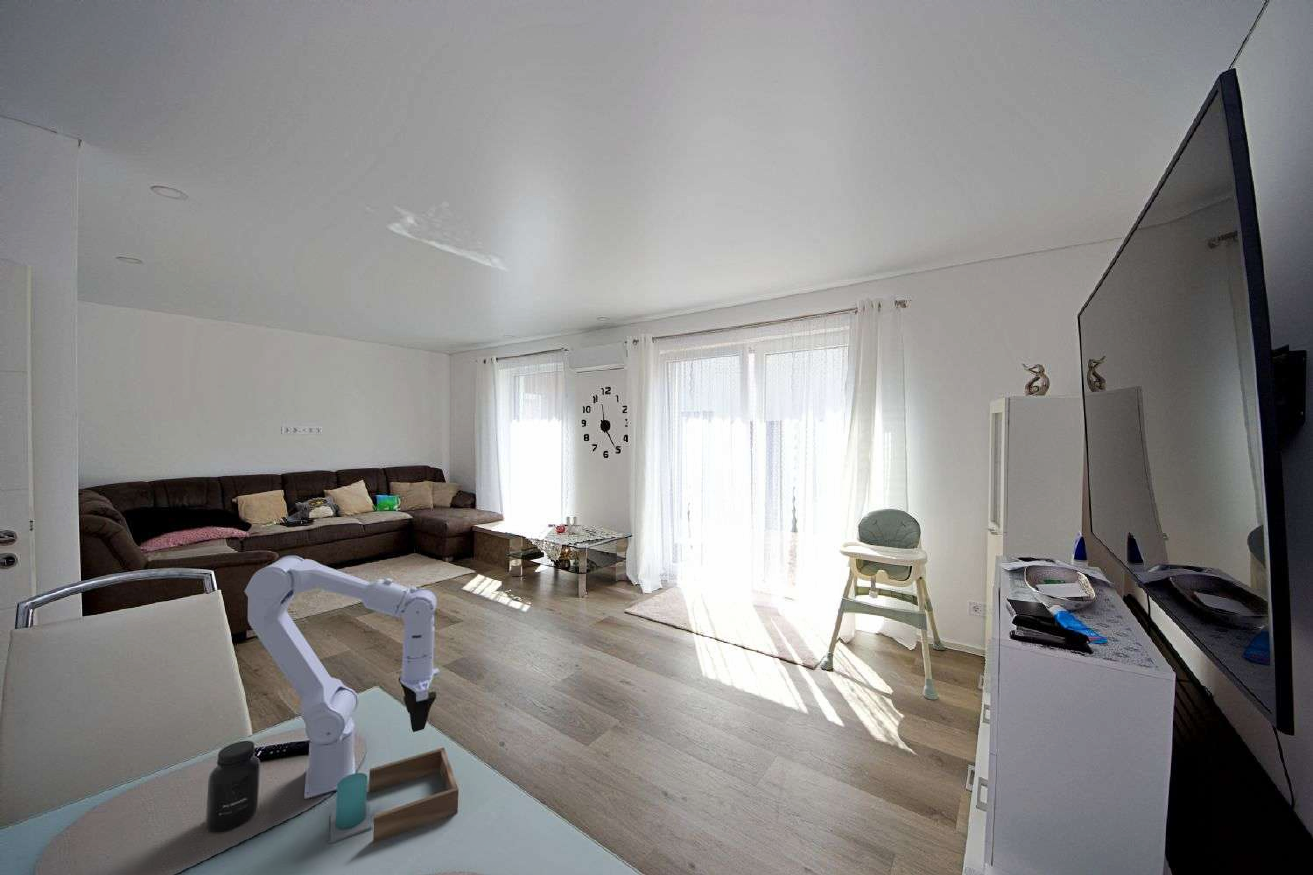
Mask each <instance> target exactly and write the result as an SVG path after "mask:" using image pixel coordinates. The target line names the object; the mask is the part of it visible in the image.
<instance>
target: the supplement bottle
mask: <svg viewBox="0 0 1313 875" xmlns="http://www.w3.org/2000/svg"><path fill="white" fill-rule="evenodd" d="M260 760H261V759H259V757H258V756H255V743H254V741H251V740H241V741H237V742H233V743H231V744H227V745H226V746H224V747H222V749H220V750H219V752H218V753H217V761H216V767H214V768H213V770H212V771H211V773H210V774H209V776H208V782H207V796H206V811H205V812H206V813H205V829H206V831H208V832H210V833H213V834H221V833H226V832H230V831H233V830H235V829H238V828H240V827H241V826H243V825H245V824H247V823H248V822H249V821H250V820H252V818H253V817H255V814H256V813H257V811H258V805H259V793H260V791H259V790H260V780H261V761H260Z"/></svg>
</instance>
